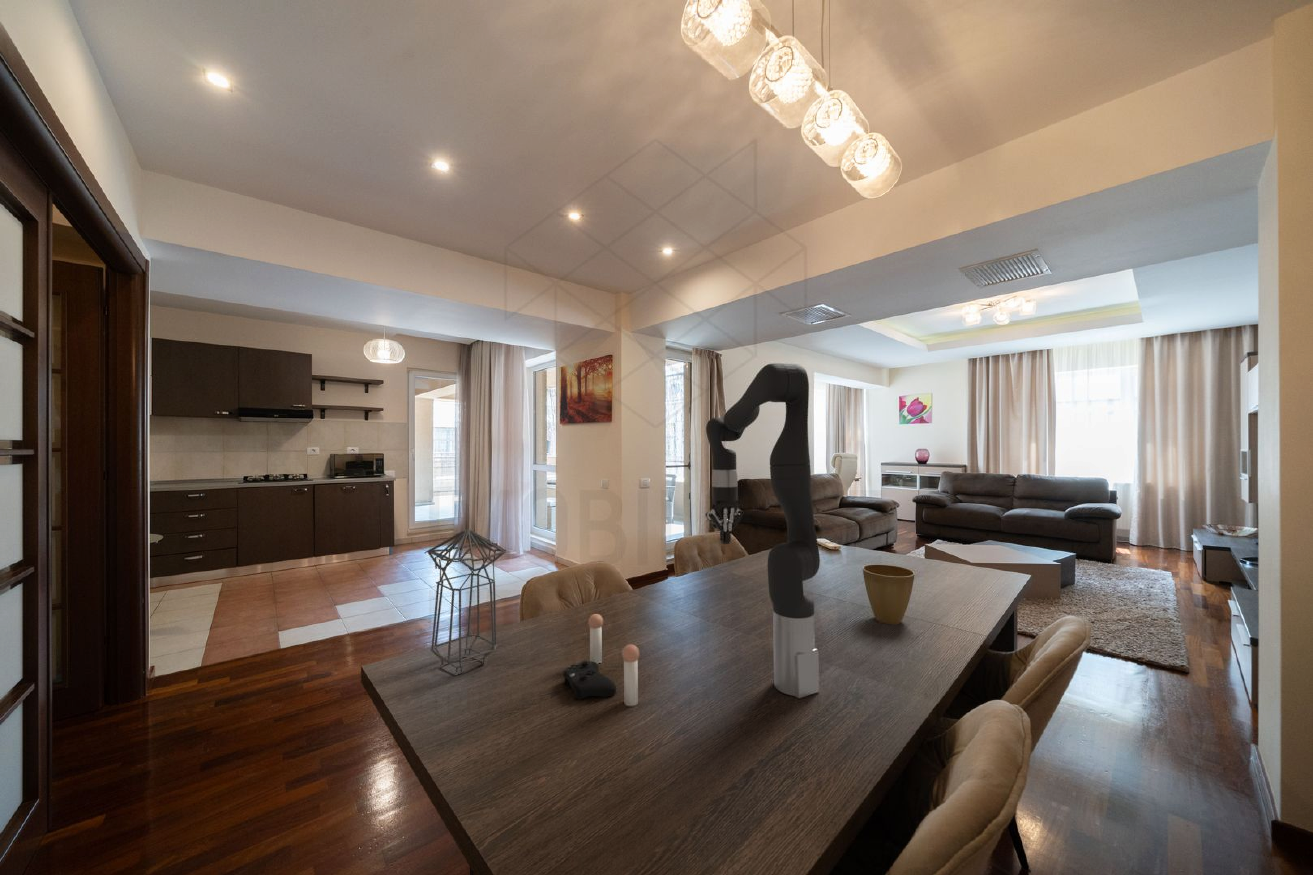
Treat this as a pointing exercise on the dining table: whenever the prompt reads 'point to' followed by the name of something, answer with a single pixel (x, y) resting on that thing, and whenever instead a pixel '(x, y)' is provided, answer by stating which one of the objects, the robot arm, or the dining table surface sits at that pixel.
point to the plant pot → (888, 591)
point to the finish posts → (628, 654)
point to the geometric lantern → (481, 541)
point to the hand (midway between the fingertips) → (725, 543)
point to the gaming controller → (588, 680)
